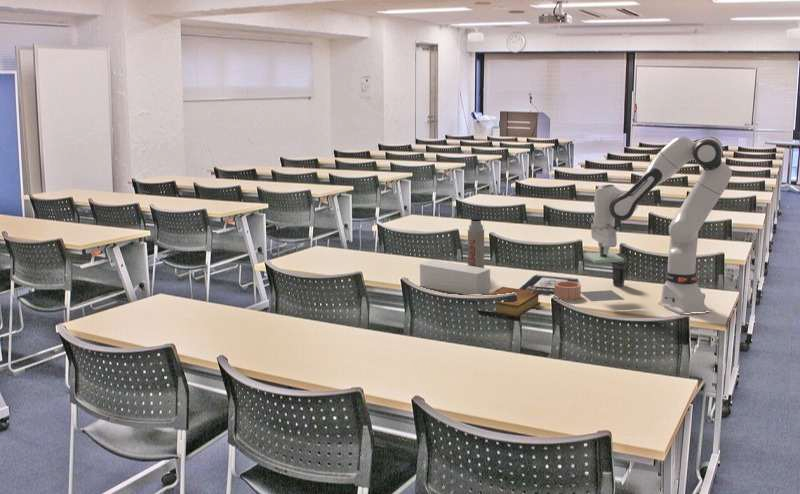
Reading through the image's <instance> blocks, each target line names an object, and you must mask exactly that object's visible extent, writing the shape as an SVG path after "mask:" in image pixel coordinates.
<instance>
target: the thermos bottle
mask: <svg viewBox="0 0 800 494" xmlns="http://www.w3.org/2000/svg"><path fill="white" fill-rule="evenodd" d="M470 220H471V222H470V224H469V226H468V229H467V265H468V266H474V267H480V268H485V229H484V225H483V223H482V222H481V221H482V218H480V217H472V218H471V219H470Z"/></svg>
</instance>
